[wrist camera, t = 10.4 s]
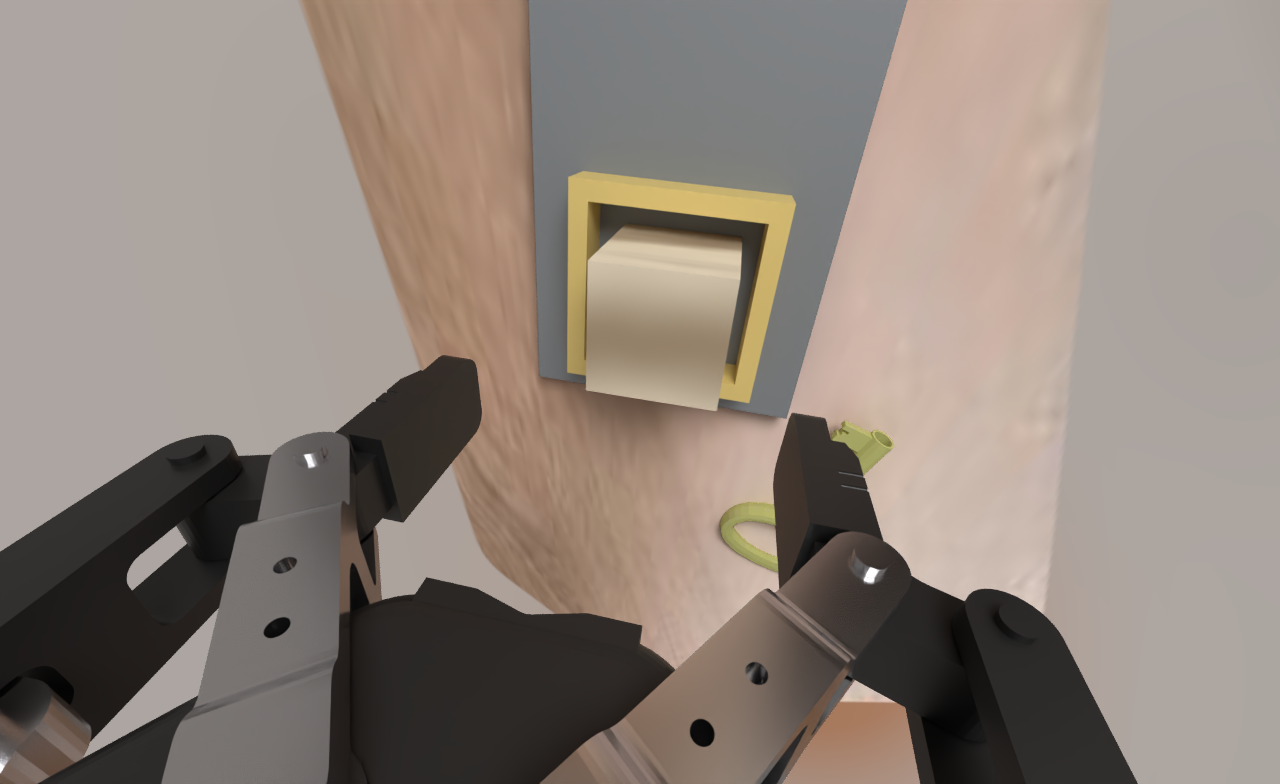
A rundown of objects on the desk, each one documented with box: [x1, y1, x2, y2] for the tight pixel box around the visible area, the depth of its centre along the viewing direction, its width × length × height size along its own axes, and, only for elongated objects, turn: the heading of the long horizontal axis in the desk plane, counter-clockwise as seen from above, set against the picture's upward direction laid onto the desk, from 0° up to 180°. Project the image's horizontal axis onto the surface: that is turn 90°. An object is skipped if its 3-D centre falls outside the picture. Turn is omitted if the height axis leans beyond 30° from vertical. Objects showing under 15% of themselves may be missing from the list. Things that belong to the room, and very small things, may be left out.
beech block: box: [586, 223, 742, 411], centre depth 20 cm, size 5×5×6 cm
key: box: [720, 421, 894, 572], centre depth 28 cm, size 7×12×2 cm, turn 175°
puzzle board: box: [529, 0, 907, 419], centre depth 19 cm, size 22×13×3 cm, turn 175°
